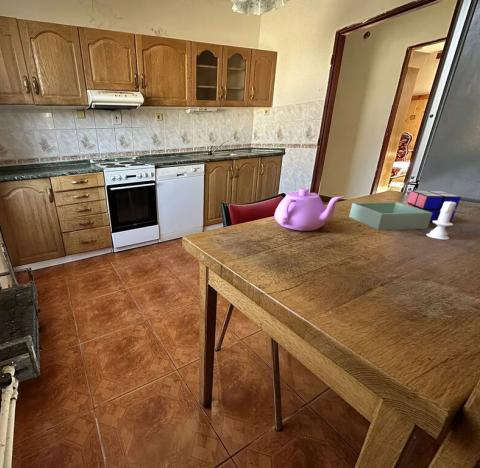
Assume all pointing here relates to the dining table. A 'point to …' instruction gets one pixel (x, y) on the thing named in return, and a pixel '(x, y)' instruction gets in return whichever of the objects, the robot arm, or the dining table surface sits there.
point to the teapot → (304, 211)
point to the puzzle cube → (432, 202)
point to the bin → (390, 215)
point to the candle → (443, 221)
